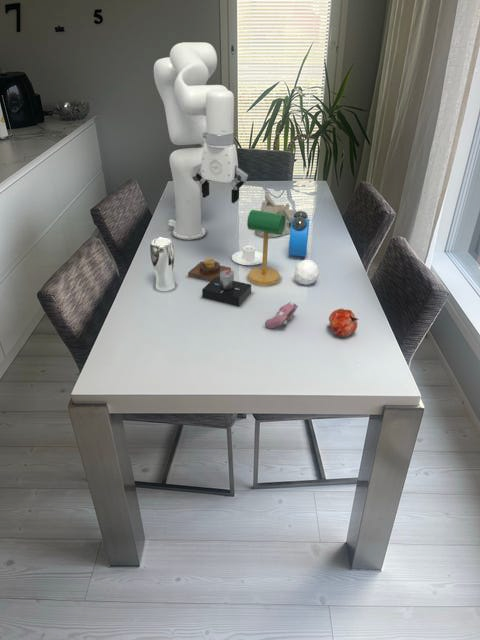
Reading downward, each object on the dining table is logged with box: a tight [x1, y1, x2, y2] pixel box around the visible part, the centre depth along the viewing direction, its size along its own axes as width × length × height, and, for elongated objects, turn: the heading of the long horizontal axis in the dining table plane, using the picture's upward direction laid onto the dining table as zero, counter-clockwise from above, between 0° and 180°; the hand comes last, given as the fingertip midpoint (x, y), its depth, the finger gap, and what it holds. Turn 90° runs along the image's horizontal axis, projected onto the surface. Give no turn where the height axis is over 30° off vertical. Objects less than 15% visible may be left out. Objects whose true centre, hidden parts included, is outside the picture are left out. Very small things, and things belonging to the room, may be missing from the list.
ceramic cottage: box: [255, 190, 297, 239], centre depth 179 cm, size 16×16×15 cm
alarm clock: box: [288, 209, 310, 260], centre depth 159 cm, size 13×6×15 cm, turn 170°
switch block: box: [187, 260, 232, 283], centre depth 149 cm, size 11×9×4 cm
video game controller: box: [264, 301, 299, 329], centre depth 125 cm, size 10×5×7 cm, turn 148°
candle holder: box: [231, 245, 263, 266], centre depth 158 cm, size 12×12×4 cm
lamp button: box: [203, 258, 216, 268], centre depth 148 cm, size 4×4×2 cm
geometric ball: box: [293, 259, 320, 286], centre depth 144 cm, size 8×8×8 cm
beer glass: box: [149, 236, 176, 292], centre depth 139 cm, size 7×7×15 cm
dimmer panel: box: [201, 277, 252, 307], centre depth 137 cm, size 12×9×3 cm
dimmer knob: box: [220, 270, 235, 290], centre depth 135 cm, size 4×4×5 cm
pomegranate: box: [328, 308, 360, 338], centre depth 121 cm, size 7×7×10 cm
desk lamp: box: [246, 209, 286, 287], centre depth 142 cm, size 10×10×22 cm
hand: (220, 199), depth 137 cm, fingers open, 9 cm apart
